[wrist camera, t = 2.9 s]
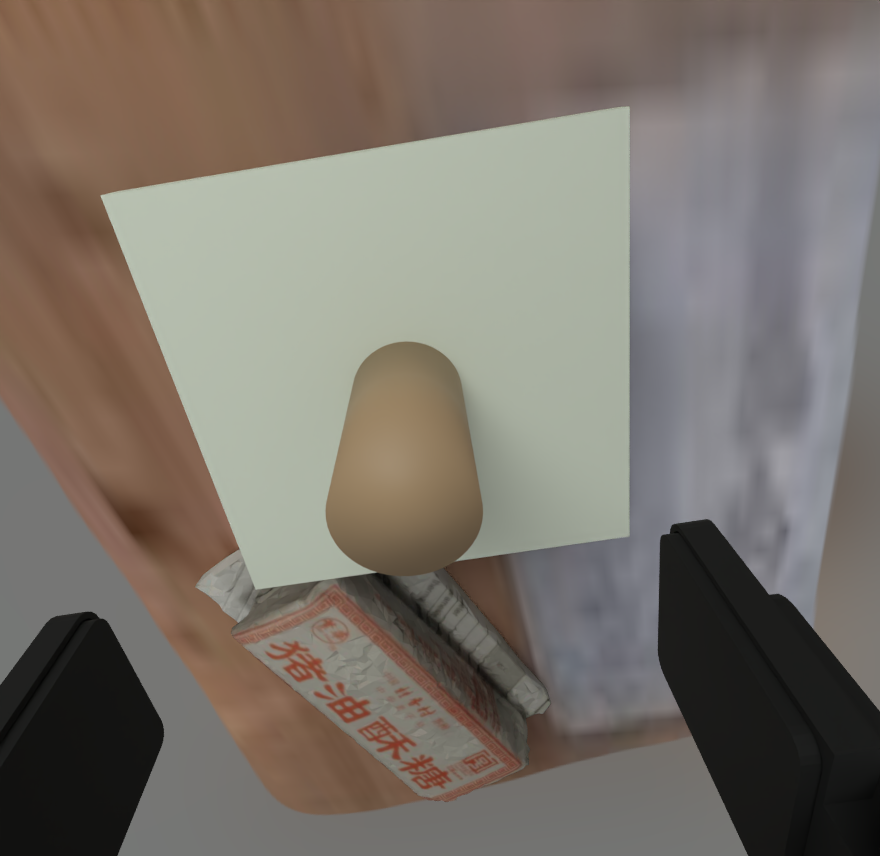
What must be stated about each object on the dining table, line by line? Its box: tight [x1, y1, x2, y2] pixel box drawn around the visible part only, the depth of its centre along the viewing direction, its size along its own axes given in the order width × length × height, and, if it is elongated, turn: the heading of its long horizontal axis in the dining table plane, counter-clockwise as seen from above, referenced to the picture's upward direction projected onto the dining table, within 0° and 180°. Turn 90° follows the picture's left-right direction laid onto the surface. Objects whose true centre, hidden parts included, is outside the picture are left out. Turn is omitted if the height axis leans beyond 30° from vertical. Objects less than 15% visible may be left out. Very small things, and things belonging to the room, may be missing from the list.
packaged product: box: [195, 549, 551, 802], centre depth 30 cm, size 18×5×10 cm
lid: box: [101, 107, 630, 590], centre depth 15 cm, size 13×13×7 cm
